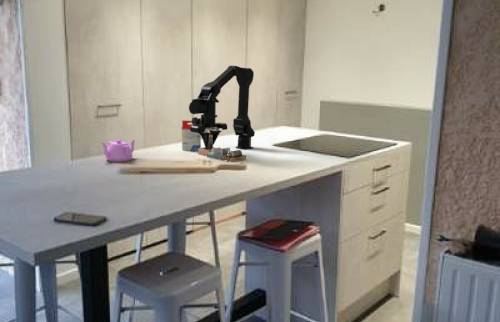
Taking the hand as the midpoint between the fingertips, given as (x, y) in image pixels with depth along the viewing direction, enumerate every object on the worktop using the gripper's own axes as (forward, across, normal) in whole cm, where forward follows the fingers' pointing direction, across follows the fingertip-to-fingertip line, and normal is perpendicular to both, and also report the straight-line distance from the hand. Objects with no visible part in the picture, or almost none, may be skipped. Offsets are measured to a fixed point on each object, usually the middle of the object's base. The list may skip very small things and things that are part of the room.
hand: (209, 146), depth 249 cm
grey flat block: (+4, 0, +8) cm, 9 cm away
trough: (+4, 0, +16) cm, 17 cm away
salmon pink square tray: (+4, 0, 0) cm, 4 cm away
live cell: (+4, 0, +16) cm, 17 cm away
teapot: (+4, +38, -16) cm, 42 cm away
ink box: (+4, -1, -14) cm, 14 cm away
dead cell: (+2, 0, 0) cm, 2 cm away
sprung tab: (+3, 0, +11) cm, 11 cm away
